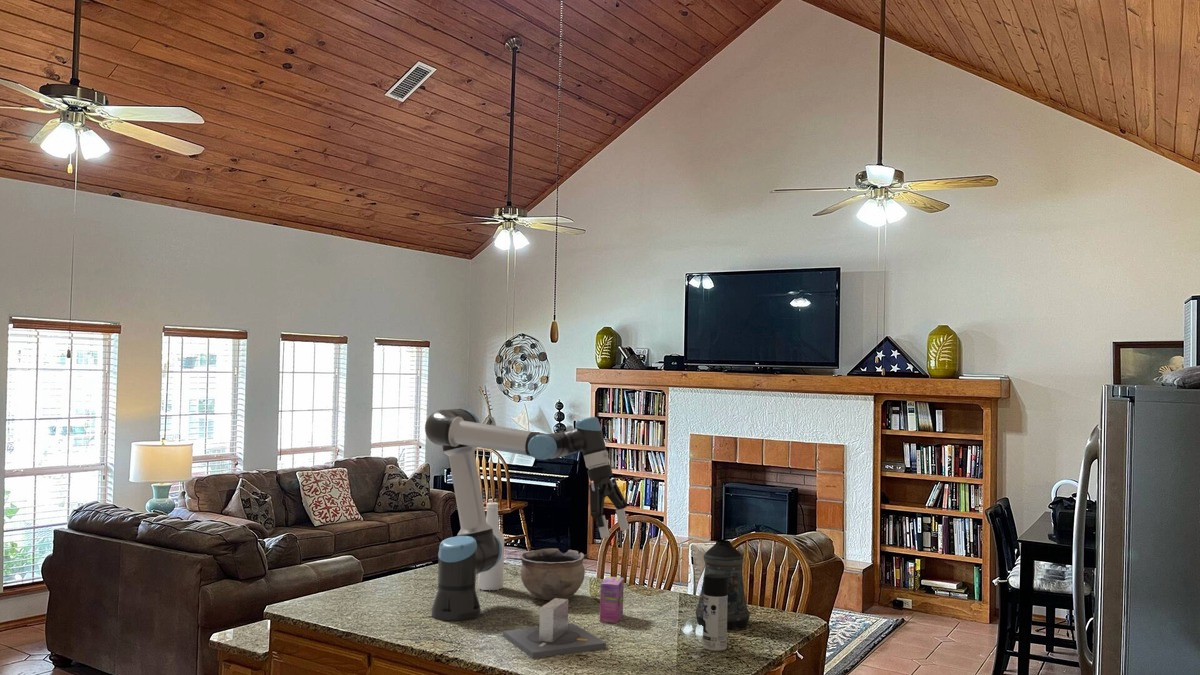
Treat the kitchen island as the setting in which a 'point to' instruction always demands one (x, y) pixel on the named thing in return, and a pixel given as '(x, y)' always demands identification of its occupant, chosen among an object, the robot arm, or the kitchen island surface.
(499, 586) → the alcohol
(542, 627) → the dial handle
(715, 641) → the spray can
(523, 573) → the ceramic bowl
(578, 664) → the kitchen island surface
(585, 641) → the dial plate
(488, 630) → the kitchen island surface
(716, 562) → the beer stein
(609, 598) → the box
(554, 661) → the kitchen island surface
